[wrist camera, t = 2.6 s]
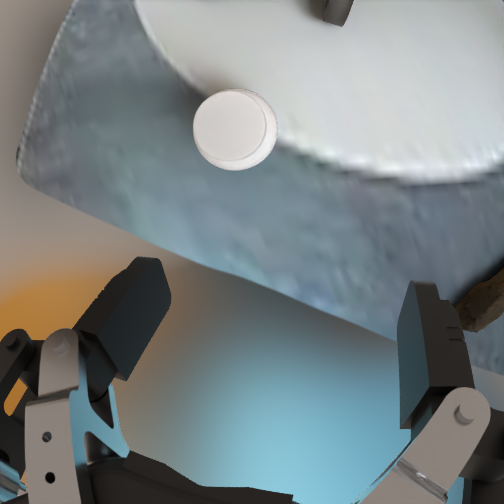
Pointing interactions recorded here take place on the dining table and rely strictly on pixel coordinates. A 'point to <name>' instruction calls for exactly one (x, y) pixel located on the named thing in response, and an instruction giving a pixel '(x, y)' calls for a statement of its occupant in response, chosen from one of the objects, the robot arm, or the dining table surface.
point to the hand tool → (482, 304)
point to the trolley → (337, 11)
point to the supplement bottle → (235, 129)
